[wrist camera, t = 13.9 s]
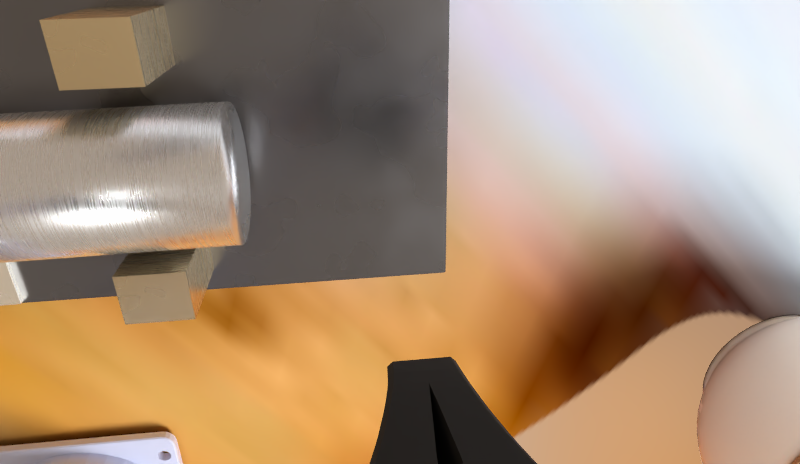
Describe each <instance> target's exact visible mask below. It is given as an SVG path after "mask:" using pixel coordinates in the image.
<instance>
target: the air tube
mask: <svg viewBox="0 0 800 464" xmlns="http://www.w3.org/2000/svg"><path fill="white" fill-rule="evenodd" d="M250 213H251V195H250V178H249V167H248V159H247V152H246V146H245V140H244V136H243V131H242V127H241V123H240V120H239V117H238V114H237V112H236V109H235V107H234V106H233V104H232V103H231V102H228V101H227V102H209V103H190V104H171V105H153V106H134V107H115V108H97V109H78V110H60V111H41V112H22V113H4V114H0V263H4V262H18V261H31V260H45V259H59V258H73V257H86V256H100V255H114V254H127V253H141V252H155V251H168V250H182V249H196V248H209V247H223V246H237V245H243V244H245V242H246V240H247V237H248V233H249V226H250Z"/></svg>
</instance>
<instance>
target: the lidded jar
mask: <svg viewBox="0 0 800 464" xmlns="http://www.w3.org/2000/svg"><path fill="white" fill-rule="evenodd" d="M697 419H698V420H697V437H698V446H699V451H700V455H701V460H702V463H703V464H800V316H798V315H789V316H780V317H775V318H771V319H768V320H765V321H762V322H760V323H757V324H755V325H753V326H751V327H749V328H748V329H746V330H744V331H742V332H741V333H739V334H738V335H737V336H735V337H734V338H733V339H731V340H730V341H729V342H728V343H727V344H726V345H725V346H724V347H723V348H722V349H721V350H720V351H719V352H718V353H717V355H716V356H715V357H714V359H713V360H712V362H711V364H710V365H709V368H708V370H707V372H706V375H705V378H704V383H703V394H702V398H701V401H700V405H699V409H698V418H697Z"/></svg>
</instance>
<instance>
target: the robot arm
mask: <svg viewBox="0 0 800 464" xmlns="http://www.w3.org/2000/svg"><path fill="white" fill-rule="evenodd" d="M387 369H388V390H387V397H386V403H385V409H384V414H383V418H382V422H381V426H380V431H379V435H378V439H377V442H376V446H375V449H374V452H373V455H372V458H371V461H370V464H537V463H536V462H535V461H534V460H533V459H532V458H531V457H530V456H529V455H528V454H527V453H526V451H525V450H524V449H523V448H522V447H521V446H520V445H519V444H518V443H517V442H516V441H515V439H514V438H513V437H512V436H511V435H510V434H509V433H508V431H507V430H506V429H505V428H504V427H503V425H502V424H501V423H500V422H499V420H498V419H497V418H496V417H495V416H494V414H493V413H492V412H491V411H490V409H489V408H488V407H487V406H486V404H485V403H484V402H483V400H482V399H481V398H480V396H479V395H478V394H477V392H476V391H475V390H474V388H473V387H472V385H471V384H470V383H469V381H468V380H467V378H466V377H465V375H464V374H463V372H462V371H461V369H460V368H459V366H458V364H457V363H456V361H455V360H454V359H452V358H451V357H443V358H431V359H420V360H408V361H396V362H392V363H391V364H390V365H389V366H388V367H387ZM162 451H167V452H169V453H164V452H162ZM0 464H183V462H182V458H181V454H180V450H179V447H178V443H177V439H176V437H175V436H174V435H173V434H171V433H169V432H163V431H161V432H150V433H139V434H128V435H118V436H107V437H96V438H85V439H74V440H63V441H52V442H41V443H30V444H19V445H8V446H0Z"/></svg>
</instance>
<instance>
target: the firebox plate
mask: <svg viewBox="0 0 800 464" xmlns="http://www.w3.org/2000/svg"><path fill="white" fill-rule="evenodd" d="M448 59H449V0H0V114H4V113H22V112H41V111H60V110H78V109H97V108H115V107H134V106H153V105H171V104H190V103H209V102H227V101H228V102H231V103H232V104H233V106H234V107H235V109H236V112H237V114H238V117H239V120H240V123H241V127H242V131H243V136H244V140H245V146H246V152H247V159H248V167H249V178H250V195H251V213H250V226H249V233H248V237H247V240H246V242H245V244H243V245H237V246H223V247H209V248H196V249H182V250H168V251H155V252H141V253H127V254H114V255H100V256H86V257H73V258H59V259H45V260H31V261H18V262H4V263H0V305H13V304H21V303H25V302H39V301H53V300H67V299H81V298H95V297H109V296H117V297H118V300H119V304H120V307H121V311H122V314H123V318H124V321H125V324H137V323H150V322H163V321H177V320H190V319H196V316H197V314H198V311H199V308H200V306H201V303H202V300H203V297H204V295H205V292H206V289H220V288H234V287H248V286H261V285H275V284H289V283H303V282H317V281H331V280H345V279H359V278H373V277H386V276H400V275H414V274H428V273H442V272H445V264H446V196H447V128H448Z"/></svg>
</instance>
